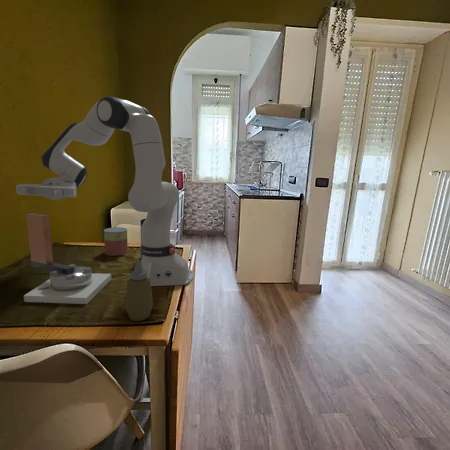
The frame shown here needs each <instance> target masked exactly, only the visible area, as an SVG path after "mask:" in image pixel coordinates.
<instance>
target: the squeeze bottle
mask: <svg viewBox="0 0 450 450" xmlns="http://www.w3.org/2000/svg"><path fill="white" fill-rule="evenodd" d="M141 262H142V259H136V262H135V266H134V270H132V271H130V278H128V279H127V282H126V293H125V310H126V313H127V316H128V318H129V319H130V320H131V321H134V322H141V321H144V320H146V319H148V318H149V317H150V316H151V313H152V310H153V306H154V301H153V299H154V298H153V291H152V286H151V282H150V279H149V278H148V277H147V271H146V270H143V268H142V264H141Z"/></svg>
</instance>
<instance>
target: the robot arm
mask: <svg viewBox="0 0 450 450" xmlns="http://www.w3.org/2000/svg"><path fill="white" fill-rule="evenodd" d="M115 130H120V131H123V132H128V133H129V135H130V137H131V143H132V145H131V146H132V150H133V156H134V164H135V175H134V181H133V185H132V187H131V188H130V190H128V191H129V192H128V195H127V196H128V197H127V198H128V199H127V200H128V202H129V205H130V207H131V208H132V209H133V210H135V212H139V213H147V214H146V217H145V218H144V219H145V221H144V222H143V224H142V244H141V243H140V258H141V264H142V268H143V270H146V271H147V277H148V278H149V279H150V282H151V287H164V286H166V287H167V286H187V285H189V284H191V283H192V282H193V280H194V279H195V278H194V277H195V276H194V275H195V272H194V271H193V270H191V269H189V264H188V261H187V260H186V259H184V258H183V257H182V256H180V255H179V254H178V253H177V252H176V244H173V243H171V226H172V220H173V219H172V218H173V216H174V211H175V207H176V204H177V203H178V201H179V199H180V190H179V189H178V187H177V186H176V185H175V184H174V183H171V182H167V181H162V177H163V171H164V168H165V167H166V157H165V152H164V146H163V145H164V143H163V139H162V134H161V131H160V127H159V124H158V122H157V120H156V118H155V117H154V116H153V115H151V113H150V112H149V110H148V109H147V108H145V106H143V105H140V104H136V103H134V102H132V101H130V100H127V99H123V98H119V97H115V96H103V97H102V98H100V100H98V101H97V102H96V103H95V104H93V106H92V107H91V108H90V110H89V111H88V112H87V113H86V116H85V117H84V119H83V120H82V121H81V122H73V123H71V124H70V125H68V126H67V127H66V128H65V129H64V130H63V131H62V132H61V134H60V135H59V136H58V138H57V139H56V140H55V141H54V142H53V143H52V145H50V147H48V148H47V149H46V150H45V151H44V152H43V153H42V155H41V157H40V159H41V163H42V166H43V167H44V168H46V169H48V170H50V171H52V172H53V173H55V174H57V175H58V177H52V178H46V179H45V180H43V182H42V183H39V184H36V183H25V184H24V183H22V184H16V186H15V189H16V194H18V195H23V196H43V197H45V198H46V199H48V200H53V201H55V200H61V199H75V198H77V194H78V193H77V189H78V188H80V187H81V186H82V185H83V184H84V182H85V181H86V180H87V177H88V170H87V169H88V168H87V167H86V166H84V165H83V164H82V163H80V161H79V162H78V161H77V160H76V159H75V158H73V157H71V155H69V154H67V153H66V151H65V149H66V148H67V147H68V146H69V145H70V144H71V142H72V141H75V142H80V143H82V144H85V145H87V146H93V147H99V146H103V145H105V144H106V143H107V142H108V141H109V139H110V138H111V137H112V135H113V133H114V131H115Z"/></svg>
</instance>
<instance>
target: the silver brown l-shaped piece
mask: <svg viewBox="0 0 450 450" xmlns="http://www.w3.org/2000/svg"><path fill="white" fill-rule="evenodd" d="M25 216H26V217H25V218H26V224H27V225H26V226H27V232H28V233H27V235H28V242H29V243H28V244H29V252H30V264H31V267H32V268H38V269H42V270H46V271H49V276H48V277H49V279H50V287H51V289H53V290H55V291H73V290H77V289H81V288H84V287H86V286H88V285H89V284H91V282H92V273H93V272H92V267H89V266H88V267H86V266H77V265H76V264H74V263H72V264H62V263H57V262H54V257H53V246H52V236H51V225H50V216H49V214H40V213H35V212H34V213H26V214H25Z"/></svg>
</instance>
